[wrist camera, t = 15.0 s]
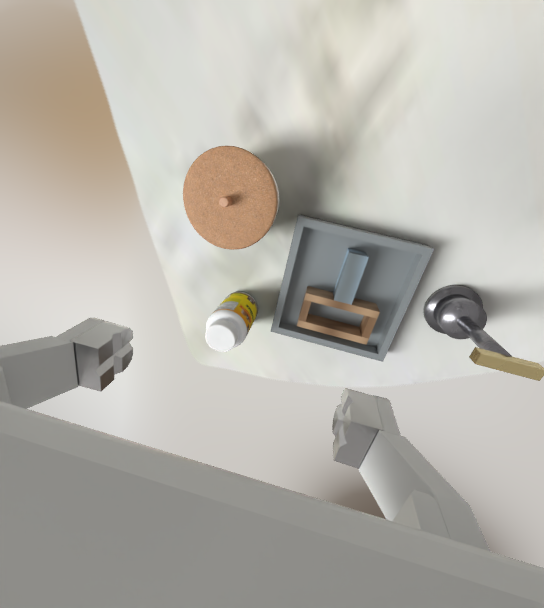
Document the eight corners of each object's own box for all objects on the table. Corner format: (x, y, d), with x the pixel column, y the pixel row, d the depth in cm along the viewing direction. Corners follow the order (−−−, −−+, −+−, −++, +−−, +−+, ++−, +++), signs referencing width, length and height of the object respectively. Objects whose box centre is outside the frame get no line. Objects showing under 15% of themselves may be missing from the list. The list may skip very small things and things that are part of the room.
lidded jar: (263, 136, 35) (244, 120, 26) (298, 218, 38) (291, 228, 29) (193, 177, 38) (156, 176, 29) (231, 250, 41) (207, 267, 33)
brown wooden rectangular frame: (393, 259, 37) (399, 264, 34) (363, 334, 42) (366, 344, 39) (319, 240, 38) (319, 245, 35) (298, 317, 43) (296, 326, 40)
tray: (299, 214, 38) (297, 216, 35) (427, 245, 36) (434, 249, 34) (273, 323, 45) (270, 331, 42) (379, 352, 43) (382, 361, 41)
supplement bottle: (259, 323, 45) (243, 359, 36) (226, 321, 46) (201, 356, 37) (258, 290, 43) (239, 320, 34) (223, 289, 44) (195, 317, 34)
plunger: (415, 324, 41) (455, 385, 28) (436, 279, 38) (492, 326, 25) (464, 336, 40) (527, 405, 28) (490, 292, 37) (573, 346, 25)
